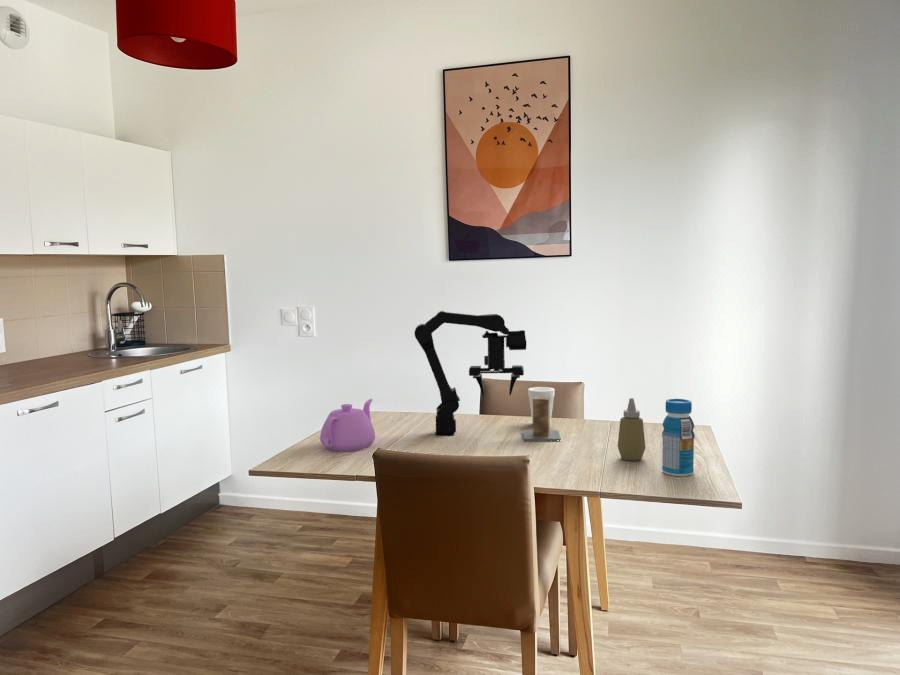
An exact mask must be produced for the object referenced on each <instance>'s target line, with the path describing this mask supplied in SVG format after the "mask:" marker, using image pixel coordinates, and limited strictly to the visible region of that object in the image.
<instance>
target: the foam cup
mask: <svg viewBox="0 0 900 675" xmlns="http://www.w3.org/2000/svg"><path fill="white" fill-rule="evenodd" d="M555 390H556V389H555V388H553V387H547V386H537V387H536V386H535V387H529V388H527V393H528V394H527V396H528V400H529V406H530V412H531V414H530V416H531V420H532V422H531V423H532V424H533V398H534V397H535V396H540V397H549V409H550V424H551V421H552V414H553V407H554V401H555V400H554V399H555V398H554V397H555V396H556V394H555Z"/></svg>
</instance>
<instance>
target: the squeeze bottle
mask: <svg viewBox="0 0 900 675" xmlns="http://www.w3.org/2000/svg"><path fill="white" fill-rule="evenodd" d="M636 407H637V406H636V403H635V398H633V397H632V398H629V399H628V405H627V409H624V410H623V417H621V418H620V420H619V427H618V428H619V429H618V438H617V449H618V453H619V456H620V458H621V459H622V460H625V461H630V462H631V461H632V462H633V461H634V462H636V461H641V460H642V459H643V456H644V454H645V451H646V441H645V440H646V439H645V429H644V419H643V418H641V417H640V414H641V412H640V410H638V409H636Z"/></svg>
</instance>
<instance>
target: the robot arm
mask: <svg viewBox="0 0 900 675" xmlns="http://www.w3.org/2000/svg"><path fill="white" fill-rule="evenodd" d="M444 324H451V325H452V324H455V325H460V326H461V325H463V326H472V327H477V328H482V329H484V330H485V332H484V333H483V334H482V335H481V338H483V339H487V355H483V356H484V357H483V358H484V359H483V360H484V361H483V362H484V364H483V365H484V366H487V367H482V365H470V367H469V369H468V376H469V377H470V376H471V377H472V379H475V380H476V381H477V383H478V385H479V386H478V387H479V389H480V392H481V394H482V396H485V388H484V387H485V386H484V381H483V374H510V382H509V390H508V391H509V393H508V394H509V396H512V392H513V389H514V385H515V383H516V381H517V379H520V378H521V376H524V375H525V374H524V373H525V372H524V371H525V369H524V366H523V365H522V364H521V365H512V366H511V367H506V366H505V365H506V364H505V363H506V361H505V348H508V350H509V351H526V350H527V340H526V339H527V337H526V331H525V329H524V330H522V329H521V330H520V329H519V330H510V328H508V327H506V324H505V319H504V317H502V315H500V314H498V313H488V314H480V315H479V314H478V315H477V314H467V313H458V312H448V311H444V310H440V311H438V312H437V313H436V314H435V315H434V316H433V317H432V318H430V319H429V320H428V321H427V322H425V323H420V324H418V325H417V326H416V327H415V329H414V337H415V339H416V341H417V343H418V344H419V346H420V347H421V348H422V350H423V352H424V354H425V356H426V359H427V361H428V363H429V366H430V369H431V371H432V374H433V376H434V379H435V382H436V385H437V387H438V389H439V395H440V396H439V397H440V400H441V402H440V403H439V405H438V406H437V407H436V409H435V410H436V415H435V433H434V435H436V436H454V435H455V433H456V432H457V419H456V418H455V412H457V411H458V410H459V407H460V403H459V402H460V401H461V400H460V399H461V398H460V396H459V395H458V393H457V388H456V387H455V386H454V387H451V385H450V384H449V381H448V379H447V376H446V374H445V372H444V369H443V366H442V364H441V361H440V358H439V356H438V353H437V350H436V347H435V343H434V339H433V333H434V332H435V331H436V330H438V329H439V328H440V327H441V326H442V325H444ZM489 331H492V332H489ZM498 332H500V334H498ZM501 334H503V335H501Z"/></svg>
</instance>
